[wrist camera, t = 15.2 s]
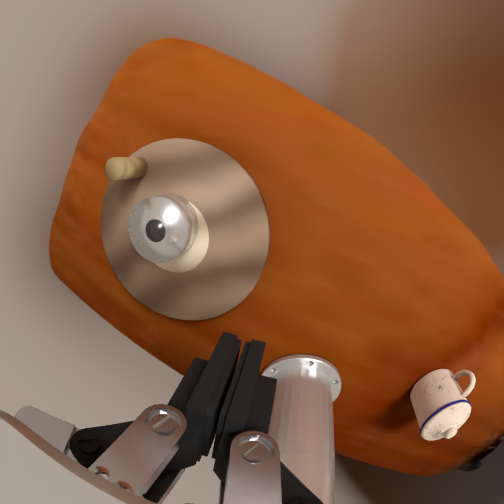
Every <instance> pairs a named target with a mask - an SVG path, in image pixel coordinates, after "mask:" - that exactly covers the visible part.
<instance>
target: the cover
mask: <svg viewBox="0 0 504 504" xmlns="http://www.w3.org/2000/svg"><path fill="white" fill-rule="evenodd" d="M198 229H199V224H198V218H197V214H196V212H195V210H194V208H193V206H192V205H191V204H190V203H189V202H188V201H187V200H186V199H185V198H183V197H182V196H179V195H177V194H171V193H168V194H162V195H157V196H153V197H148V198H145V199H143V200H141V201H140V202H139V203H138V204H137V205H136V206H135V207H134V208H133V210H132V212H131V214H130V217H129V223H128V230H129V236H130V239H131V242H132V244H133V246H134V248H135V249H136V251H137V252H138V253H139V254H140V255H141V256H142V257H144V258H145V259H147V260H149V261H151V262H154V263H167V262H170V261H172V260H173V259H175V258H176V257H177V256H179V255H180V254H182V253H183V252H184V251H186V250H187V249H189V248H190V247H191V246H192V244H193V243H194V242H195V240H196V237H197V234H198Z"/></svg>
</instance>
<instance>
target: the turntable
mask: <svg viewBox="0 0 504 504" xmlns="http://www.w3.org/2000/svg"><path fill="white" fill-rule="evenodd" d="M105 173H106V176H107V177H108V179H110V180H111V181H110V183H109V185H108V187H107V190H106V193H105V196H104V200H103V204H102V211H101V233H102V240H103V245H104V249H105V252H106V255H107V258H108V261H109V263H110V265H111V267H112V269H113V271H114V273H115V274H116V276H117V278H118V279H119V280H120V282H121V283H122V284H123V286H124V287H125V288H126V289H127V290H128V291H129V292H130V293H131V295H133V296H134V297H135V298H136V299H137V300H138V301H139V302H141V303H142V304H144V305H145V306H147V307H148V308H150V309H152V310H154V311H156V312H158V313H160V314H162V315H165V316H168V317H172V318H175V319H182V320H203V319H209V318H212V317H216V316H219V315H221V314H223V313H226V312H227V311H229V310H231V309H232V308H234V307H236V306H237V305H238V304H239V303H240V302H242V301H243V300H244V299H245V298H246V297H247V295H248V294H249V293H250V292H251V291H252V289H253V288H254V286H255V285H256V283H257V282H258V280H259V277H260V275H261V273H262V271H263V268H264V266H265V263H266V259H267V256H268V251H269V244H270V225H269V217H268V213H267V209H266V205H265V202H264V199H263V197H262V195H261V192H260V190H259V188H258V187H257V185H256V183H255V181H254V180H253V178H252V177H251V176H250V174H249V173H248V172H247V171H246V169H245V168H244V167H243V166H242V165H241V164H240V163H239V162H238V161H237V160H236V159H234V158H233V157H231V156H230V155H229V154H227V153H226V152H224V151H222V150H221V149H219V148H217V147H215V146H212V145H209V144H207V143H204V142H200V141H195V140H190V139H176V138H174V139H166V140H161V141H157V142H154V143H151V144H149V145H147V146H144V147H142V148H141V149H139V150H138V151H136V152H134V153H133V154H132V155H131V156H130V157H113V158H110V159H109V160H108V161H107V163H106V166H105ZM168 193H171V194H177V195H179V196H182V197H183V198H185V199H186V200H187V201H188V202H189V203H190V204H191V205H192V206H193V208H194V210H195V212H196V214H197V218H198V224H199V229H198V234H197V237H196V240H195V242H194V243H193V244H192V246H191V247H190V248H189V249H187V250H186V251H184V252H183V253H182V254H180V255H179V256H177V257H176V258H175V259H173V260H172V261H170V262H167V263H154V262H151V261H149V260H147V259H145V258H144V257H142V256H141V255H140V254H139V253H138V252H137V251H136V249H135V248H134V246H133V244H132V242H131V239H130V236H129V230H128V223H129V217H130V214H131V212H132V210H133V208H134V207H135V206H136V205H137V204H138V203H139V202H140V201H141V200H143V199H145V198H148V197H153V196H157V195H162V194H168Z"/></svg>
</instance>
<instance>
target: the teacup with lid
mask: <svg viewBox="0 0 504 504" xmlns="http://www.w3.org/2000/svg"><path fill="white" fill-rule="evenodd" d="M463 375H469V377H470V383H469V386H468V387H467V388H466V390H465V391H464V392H462V390H461V388H460V386H459V384H458V383H457V379H459V378H460V377H461V376H463ZM475 382H476V379H475V376H474V374H473V373H472V372H471V371H469V370H461V371H459V372H457V373H456V374H455V375H453V374H452V372H451V371H449V370H447V369H438V370H434V371H432V372H430V373H428V374H426V375H425V376H423V377H422V378H421V379H420V380H419V381H418V382H417V383H416V384H415V385H414V387H413V388H412V391H411V394H410V399H411V402H412V405H413V408H414V411H415V414H416V417H417V420H418V424H419V427H420V435H421V436H422V437H423V438H424V439H426V440H437V439H441V438H443V437H446V438H451V437H453V436H454V435H455V434H456V433H457V429H458V428H459V427H461V426H462V425H463V424H464V422H465V421H466V420H467V419H468V417H469V415H470V412H471V404H470V402H469V401H467V399H466V398H465V397H466V396H467V395H468V394H469V393H470V392H471V391H472V390H473V388H474V386H475Z"/></svg>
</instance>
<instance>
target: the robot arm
mask: <svg viewBox="0 0 504 504" xmlns="http://www.w3.org/2000/svg"><path fill="white" fill-rule="evenodd" d="M241 342H242V340H239V339H237V335H235V334H231V333H227V332H223V333H222V335H221V337H220V339H219V341H218V343H217V345H216V347H215V349H214V351H213V353H212V355H211V357H210V359H209V361H206V360H203V359H200V358H194V360H193V361H192V363H191V365H190V367H189V368H188V370H187V372H186V374H185V375H184V377H183V379H182V381H181V382H180V384H179V386H178V388H177V389H176V391H175V393H174V394H173V396H172V398H171V400H170V401H169V403H168V405H164V404H158V405H153V406H150V407H148V408H147V409H146V410H144V411H143V412H142V413H141V414H140V415H139V417H137V419H136V420H135V421H130V422H124V423H119V424H113V425H106V426H100V427H92V428H85V429H78V428H76V427H75V425H73V424H70V423H68V422H66V421H63V420H61V419H58V418H56V417H54V416H52V415H49V414H47V413H45V412H43V411H40V410H39V409H37V408H34V407H31V406H28V407H23V408H21V409H20V410H19V411H18V412H17V413H16V415H15V417H13V416H11V415H10V414H8V413H6V412H4V411H2V410H0V504H162V502H163V501H164V499H165V498H166V497H167V495H168V494H169V493H170V491H171V490H172V488H173V487H174V485H175V484H176V483H177V481H178V480H179V478H180V477H181V475H182V474H183V472H184V471H185V468H187V467H190V466H193V465H195V464H196V462H197V461H200V459H201V456H202V455H204V456H208V454H209V451H210V448H211V445H212V443H213V440H214V437H215V442H214V447H213V453H212V458H214V459H215V464H214V469H213V471H214V472H215V473H216V475H217V476H218V477H219V479H220V480H221V481H220V490H219V498H218V504H335V475H334V474H335V471H334V470H335V468H334V467H335V461H334V460H335V459H334V425H333V405H332V402H334V401H335V400H336V398H337V397H338V395H339V393H340V391H341V377H340V374H339V372H338V370H337V369H336V367H334V366H333V365H332V364H331V363H330V362H328V361H327V360H325V359H322V358H320V357H317V356H312V355H304V354H300V355H290V356H285V357H282V358H280V359H277V360H275V361H273V362H272V363H270V364H269V365H268V366H267V367H266V368H265V369H264V370H263V372H262V373H261V375H258V373H259V369H260V365H261V361H262V357H263V352H264V348H265V344H266V342H263V341H258V340H254V339H252V341H251V342H247V341H246V342H245V345H244V348H243V351H242V354H241V356H240V359H239V362H238V365H237V361H238V356H239V351H240V347H241ZM236 366H237V368H236ZM215 435H216V436H215ZM186 504H187V503H186ZM188 504H189V503H188ZM190 504H191V503H190Z"/></svg>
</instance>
